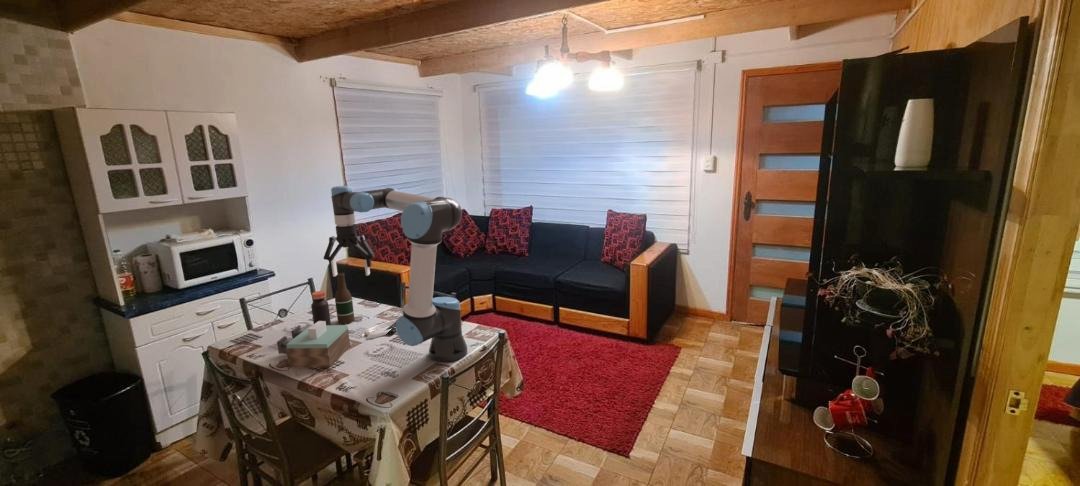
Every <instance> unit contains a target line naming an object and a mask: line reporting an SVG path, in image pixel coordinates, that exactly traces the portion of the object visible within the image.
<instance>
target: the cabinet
mask: <svg viewBox="0 0 1080 486" xmlns="http://www.w3.org/2000/svg"><path fill="white" fill-rule="evenodd" d="M301 328H302V327H301V326H300V325H299V326H296V327H295V328H293V329H292V330H291V338H292V339H294V338H295V337H296V336H298V335H297V331H299V330H300V329H301ZM287 339H288V336H287V335H285V336H283V337H281V338H280V339H278V340H277V341H276V344H277V345H276V346H277V350H278V355H286V356H287V362H288V368H290V367H293V368H294V367H296V368H297V369H298V368H299V367H300V368H303V369H304V368H310V369H311V368H318V369H319V368H321V369H322V368H331V367H332V366H333V365H334V364H335V363H336V362H338V360H339V359H340V358H341V357H342V356H343V355H344V354H345V353H346V352H347V351H348V350H349V349H350V348H351V342H350V341H351V340H350V332H349V328H348V329H347V330H346V331H345V332H344V333H343V334H342V335H341V336H340V337H339V338H338V339H337V340H335V341H334V342H333V343H332V344H331V345H330V346H329V347H328V348H287V346H284V345H283V342H284V341H285V340H287ZM293 368H292V369H293ZM290 369H291V368H290Z"/></svg>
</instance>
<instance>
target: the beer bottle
mask: <svg viewBox="0 0 1080 486" xmlns="http://www.w3.org/2000/svg"><path fill="white" fill-rule="evenodd" d="M337 274H338V275H336V276H335V277H336V279H337V280H336V281H337V290H336V292H335V295H334V300H335V301H334V302H335V310H336V311H335V312H336V317H337V318H336V319H337V323H338V324H339V325H349V324H351V323H353V322H355V313H354V312H355V311H354V304H353V298H352V294H351V292H350V290H349V289H347V288H348V287H347V283H346V278H345V275H346V274H345V272H337Z"/></svg>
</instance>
